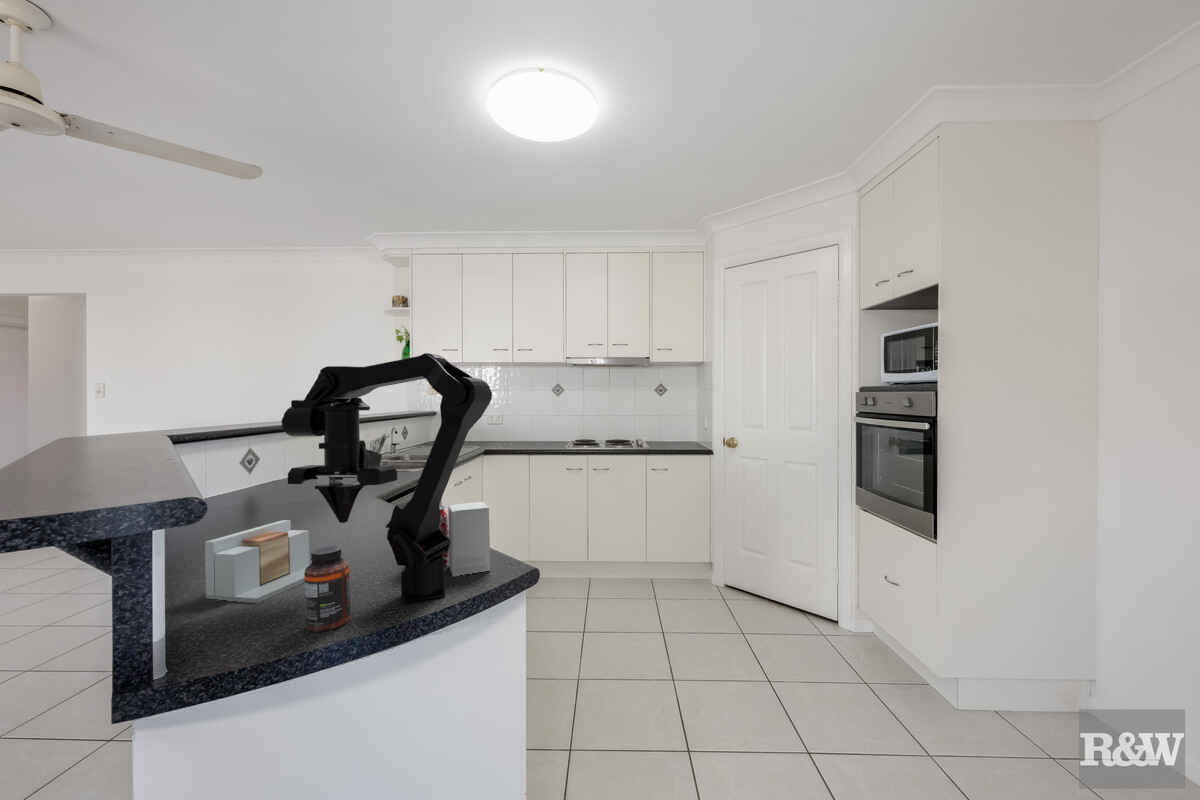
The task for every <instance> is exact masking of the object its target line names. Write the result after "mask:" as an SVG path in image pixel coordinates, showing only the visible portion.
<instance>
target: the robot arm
mask: <svg viewBox="0 0 1200 800" xmlns="http://www.w3.org/2000/svg"><path fill="white" fill-rule="evenodd" d="M424 379H425V380H426V381H427V382H428V384H429V385H430V386H431V388H432V389H433V390H434V391H435V392H437V393H438V394H439V396H441V401H440V406H439V410H440V412H439V413H440V421H441V422H440V425H439V426H440V427H439V429H438V430H437V433H436V437H435V438H434V441H433V444H432V447H431V448H430V451H429V454H428V456H427V459H426V461H425V463H424V467H423V469H422V472H421V474H420V477H419V479H418V482H417V485H416V487H415V489H414V492H413V494H412V496H411V498H410V500H408V501H406V502H402V503H399V504H397V505H395V506H394V508H393V510H392V512H391V518H390V520H389V522H388V523H387V524H386V525H385V528H386V529H387V533H386V540H387V542H388V543H389V545H390V547H391V551H392V553H393V556H394V559H395V562H396V565H397V566H401V568H400V587H401V588H400V589H401V591H400V594H401V597H403V598H404V603H405V604H406V603H407V604H409V603H413V602H420V601H421V602H422V601H426V600H432V598H433V599H437V598H443V597H445V596H446V589H445V581H444V580H445V578H444V577H445V576H444V572H445V571H444V570H445V569H444V566H443V555H442V554H443V553H445V552H447V551H448V550H449V547H450V544H451V540H450V539H449V536H448V537H447V536H446V535H445V534H444V533H443V532H442V530H441V529H440V528H439V523H440V518H441V516H440V507H439V505H441V500H442V498H443V496H444V493H445V491H446V488H447V485H448V483H449V481H450V477H451V476H452V473H453V471H454V467H455V465H456V463H457V460H458V459H459V455H460V453H461V451H462V448H463V446H464V443H465V441H466V439H467V436H468V434H469V431H470V430H471V429H472V428H473V427H474V425H476V423H477V422H478V421H479V420H480V419H481V418H482V417H483V415H484V413H485V412H486V410H487V408H488V407H489V405H490V403H491V402H492V396H493V391H491V388H490V385H489V384H488V382H487V381H485V380H484V379H481V378H475V377H473V376H472V375H470V374H469V373H467V372H465V371H464V370H463V369H461V368H459V367H458V366H455V365H454V364H452V363H451V361H448V360H447V359H446V358H445V357H444V356H442V355H440V354H435V353H427V352H426V353H423V354H420V355H418V356H412V357H411V356H410V357H406V358H403V359H398V360H396V359H395V360H392V361H386V362H383V363H382V362H381V363H377V364H371V365H367V366H347V365H346V366H344V365H340V366H339V365H335V366H334V365H329V366H328V365H327V366H325V367H322V368H321V369H320V370H319V373H318V376H317V378H316V380H315V381H314V383H313V384H312V386H311V387H310V389H309V391H308V393H307V394H306V396H305V398H304V399H292V400H291V401H290V402H291V403H290V407H288V408H287V409H286V410H285V411H284V414H283V415H282V418H281V426H282V429H283V431H284V432H285V434H286V435H288V436H290V437H300V438H301V437H322V436H323V442H318V449H320V450H324V451H323V453H324V455H323V457H324V464H308V465H303V466H302V465H301V466H295V467H292V468H291V469H290V470H289V471H288V473H287V485H302V484H304V483H305V482H307V481H310V480H317V485H314V489H315V490H318V491H319V493H320V494H321V496H322V497H323V498H324V499H325V501H326V502H327V504H328V505H329V507H330V508H331V510H332V512H333V514H334V516H335V518H336V519H337V521H338V522H339V523H340V524H344V523H345V524H346V523H347V522H348V521H349V519H350V516H351V513H352V510H353V508H354V504H355V502H356V499H357V497H358V496H359V495H358V494H359V493H360V491H361V490H362V489H363V488H364V487H366V486H379V485H383V484H387V483H388V484H389V483H392V482H394V481H395V482H396V481H398V470H397V468H396V467H395V466H394V465H391V464H390V465H386V464H385V465H384V464H383V465H381V463H382V458H383V454H381V453H379V452H376V451H373V450H370V449H367V447H366V446H367V445H366V444H367V443H366V442H365V440H361V438H360V437H361V434H360V433H361V432H360V411H370V410H371V407H370V405H368V404H367V403H366V402H365V401H363V400H362V398H361V397H363V396H366V395H368V394H370V393H372V392H373V391H374V390H376V389H379V388H381V387H388V386H394V385H399V384H404V383H405V384H406V383H409V382H414V381H420V380H424ZM421 547H423V549H422V548H421ZM402 566H403V567H402Z"/></svg>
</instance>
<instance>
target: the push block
mask: <svg viewBox="0 0 1200 800" xmlns="http://www.w3.org/2000/svg"><path fill="white" fill-rule="evenodd" d="M242 546H253V547H259V575H260V584H263V583H266V582H268V581H271V580H273V579H275V578H278V577H280V576H283V575H285V574H288V573H289V561H288V532H267V533H264V534H261V535H257V536H254V537H251V538H247V539H244V540H242Z"/></svg>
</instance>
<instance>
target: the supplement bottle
mask: <svg viewBox="0 0 1200 800" xmlns="http://www.w3.org/2000/svg"><path fill="white" fill-rule="evenodd" d="M310 552H311V553H310V555H311V558H310V561H311V563H310V564H309V566H308V567H307V568H306V569H305V573H304V579H305V580H304V582H303V583H304V609H305V610H304V611H305V614H304V615H305V627H306V629H307V630H308V631H311V632H315V633H317V632H319V633H320V632H325V631H330V630H332V631H333V630H334V629H337V628H340V627H342V626H343V625H345V624H346V623H347V622H348V621H349V620H350V619H351V593H350V592H351V590H350V584H351V583H350V565H349V562H348V561H347V560H345V559H343V557H342V547H341V546H338V545H329V546H328V545H327V546H323V547H319V548H316V549H314V550H311V551H310Z"/></svg>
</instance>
